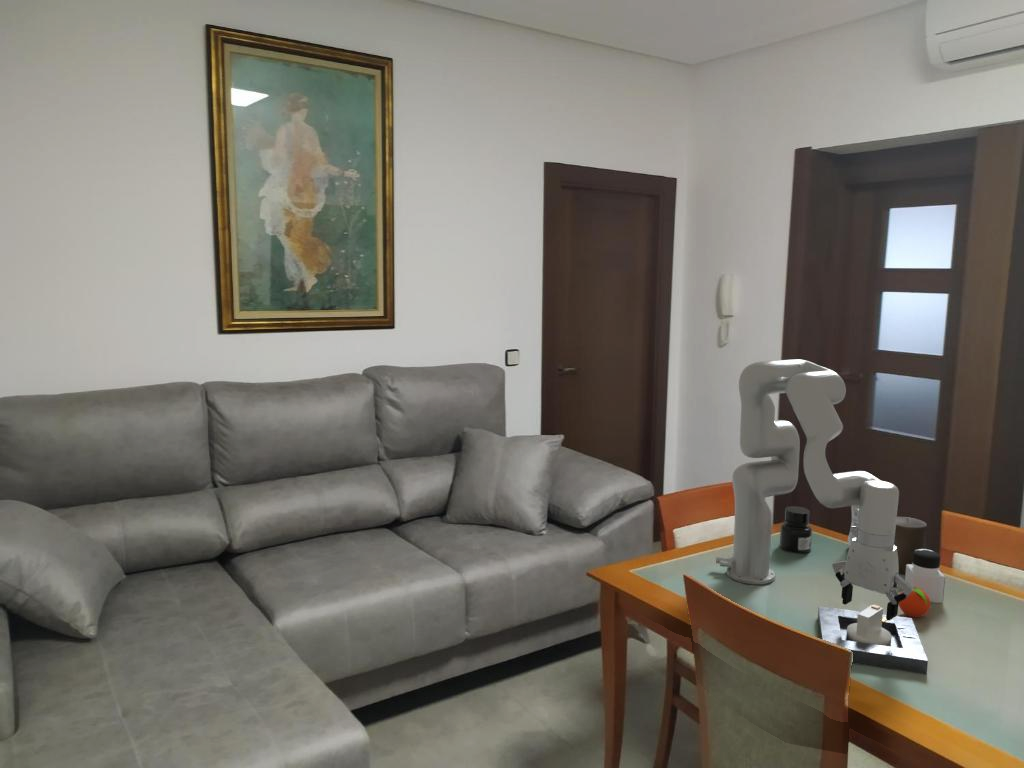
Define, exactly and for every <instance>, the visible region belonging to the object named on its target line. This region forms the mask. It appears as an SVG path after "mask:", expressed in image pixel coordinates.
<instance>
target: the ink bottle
mask: <svg viewBox="0 0 1024 768" xmlns="http://www.w3.org/2000/svg"><path fill="white" fill-rule="evenodd" d="M809 523H810V510H809V509H808V508H806V507H802V506H797V505H794V506H787V507H785V509H784V522H783V523H782V524H781V525H780V533H779V548H780V549H782V550H784V551H786V552H790V553H795V554H806V553H809V552H810V551H811V550H812V546H813V545H812V543H813V542H812V540H813V528H812V527H811V526H810V524H809Z"/></svg>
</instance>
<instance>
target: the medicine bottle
mask: <svg viewBox="0 0 1024 768" xmlns="http://www.w3.org/2000/svg"><path fill="white" fill-rule="evenodd" d="M940 567H941V555H940V554H939V553H938V552H936V551H934V550H931V549H927V548H925V549H918V550H915V551H914V552H913V562H912V564H907V565H906V574H905V575H904V577H905V578H904V580H905V581H906V582H908V583H909V584H910V585H911V586H912V587H915V588H919V589H921V590H922V591H924V592H925V593H926V594H927V596H928V597H929V599H930V604H931V603H933V604H944V596H945V584H946V576H945V575H944V574H943V573H942V572H941V571H940Z"/></svg>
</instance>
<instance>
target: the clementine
mask: <svg viewBox="0 0 1024 768" xmlns="http://www.w3.org/2000/svg"><path fill="white" fill-rule="evenodd" d="M913 588H914V590H913V591H912V592H911V593H910V595H909V596H908V597H907V598H905V599H904V600H902V601H900V602H899V605H898V608H900V611H902V612H903V613H904V614H905V615H907V616H909V617H910V618H911V617H913V618H921V617H924V616H925V615H926V614H928V613H929V611H930V609H931V602H930V599H929V597H928V596H927V594H926V593H925V592H924V591H922V590H921V589H919V588H915V587H913ZM902 592H903V590H902V591H901V592H900V593H899V594H901V593H902Z"/></svg>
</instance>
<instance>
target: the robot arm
mask: <svg viewBox="0 0 1024 768" xmlns="http://www.w3.org/2000/svg"><path fill="white" fill-rule="evenodd" d="M738 391H739V398H740V403H741V405H740V411H741V412H740V431H739V432H740V433H739V447H740V450H741V453H742V454H743V455H744V456H745V457H747V458H751V459H762V458H771V459H770V460H759V461H752V462H751V461H750V462H746V463H742V464H741V465H739V466H737V467H736V468H735V469H734V471H733V473H732V478H731V479H732V480H731V482H732V489H733V495H734V526H733V527H734V528H733V530H734V531H733V532H734V534H733V549H732V550H733V553H732V554H731V556H728V557H724V556H719V555H718V556H715V564H719V566H720V567H726V574H727V577H729V578H730V577H731V578H730V579H731V580H734V581H736V582H740V583H743V584H748V585H766V584H771V583H772V582H774V581H775V579H776V573H775V572H774V570H773V569H772V568H771V567H770V566H771V565H770V563H771V545H772V544H771V542H772V525H773V522H772V520H773V515H772V510H771V507H770V506H769V505H768V502H767V500H766V499H767V498H768V497H769V498H770V497H775V496H781V495H782V496H783V495H787V494H790V493H791V492H793V491H794V490H795V489H796V487H797V484H798V479H799V467H800V466H799V465H800V449H801V447H800V446H801V445H800V444H801V443H800V442H801V441H800V435H799V433H798V430H797V428H796V426H795V425H794V424H793V423H792V422H790V421H788V420H784V419H776V418H775V416H776V407H775V404H774V401H773V399H772V397H771V394H772V395H774V394H775V395H776V394H786V397H787V398H788V401H789V403H790V404H791V408H792V409H793V412H794V414H795V416H796V417H797V420H798V423H799V424H800V426H801V429H802V431H803V432H804V434H805V437H806V444H805V447H804V450H803V451H804V452H803V458H802V459H803V473H804V475H805V477H806V478H805V479H806V480H807V483H808V484H809V487H810V489H811V490H812V493H813V495H814V496H815V498H816V500H818V502H819V503H820V504H821V505H822V506H824V507H826V508H829V509H838V508H843V507H844V508H845V507H846V508H847V507H851V506H853V505H859V511H858V523H857V526H852V527H851V526H850V529H851V532H854V533H855V534H856V535H855V537H856V538H853V539H852V541H851V544H850V546H849V548H848V551H847V556H846V560H841V561H836V562H833V563H832V565H831V567H832V569H833V571H834V573H835V577H836V579H837V580H838V581H839V583H840V584H839V585H840V587H841V595H840V596H841V599H842V605H845V606H846V605H848V604H849V603H851V602H852V601H853V593H854V592H853V590H854V586H857V587H860V588H863V589H865V590H869V591H871V592H874V593H877V594H879V595H880V594H881V595H886V597H887V599H888V600H889V602H887V605H886V606H887V608H886V614H885V615H886V619H887V620H889V621H890V620H891V619H893V618H894V617H896V616H898V612H899V602H900V601H902V600H904V599H905V598H907V597H908V596H909V595H910V593H911V592H912V591H913V590H914V588H913V587H912V586H911V585H910V584H909V583H908V582H906V581H905V578H903V577H902V576H901V575H900V574H898V573H899V565H898V553H897V547H896V546H894V539H895V529H896V519H897V517H898V505H899V497H900V490H899V487H898V486H896V485H895V484H894V483H892V482H888V481H884V480H881V479H879V478H878V477H876V476H874V475H873V474H871V473H869V472H867V471H865V470H854V471H846V472H845V471H844V472H838V473H837V472H836V473H833V472H832V470H831V468H830V465H829V463H828V461H827V458H826V448H827V445H828V443H829V442H830V441H832V440H834V439H835V438H836V437H838V436H839V435H840V434H841V433H842V432H843V430H844V424H843V423H842V421H841V418H840V417H839V414H838V413H837V410H836V409H835V407H834V405H837V404H840V403H841V402H842V401H843V400H844V399H845V397H846V392H847V389H846V383H845V381H844V379H843V378H842V377H841V376H840V375H839V374H838V373H837V372H836V371H834V370H833V369H830V368H827V367H826V366H825V367H824V366H821V365H818V364H816V363H814V362H811V361H809V360H805V359H799V358H798V359H797V358H795V359H792V358H791V359H776V360H773V359H772V360H764V361H763V360H762V361H757V362H753V363H751V364H748V365H746V367H744V369H742V371H741V373H740V376H739V379H738ZM775 419H776V420H775ZM842 568H844V571H843V569H842ZM853 585H854V586H853ZM898 586H899V587H901V589H902V591H903V592H902V591H901V592H902V593H901V592H900V593H901V594H900V593H899V592H898V589H897V588H898Z"/></svg>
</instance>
